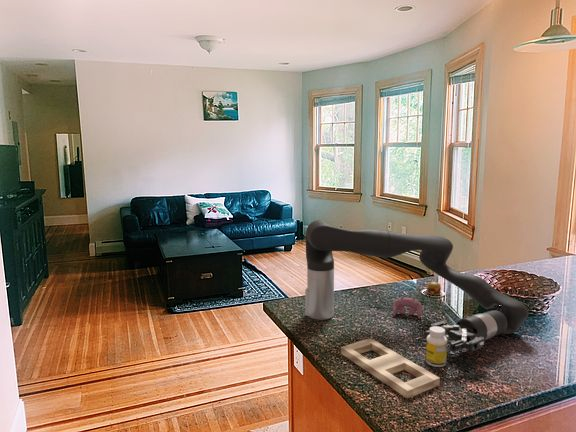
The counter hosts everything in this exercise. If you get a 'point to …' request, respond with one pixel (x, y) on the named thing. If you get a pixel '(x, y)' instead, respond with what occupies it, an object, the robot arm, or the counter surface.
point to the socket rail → (390, 367)
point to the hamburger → (434, 289)
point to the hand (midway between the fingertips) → (438, 341)
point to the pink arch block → (409, 302)
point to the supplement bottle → (436, 347)
